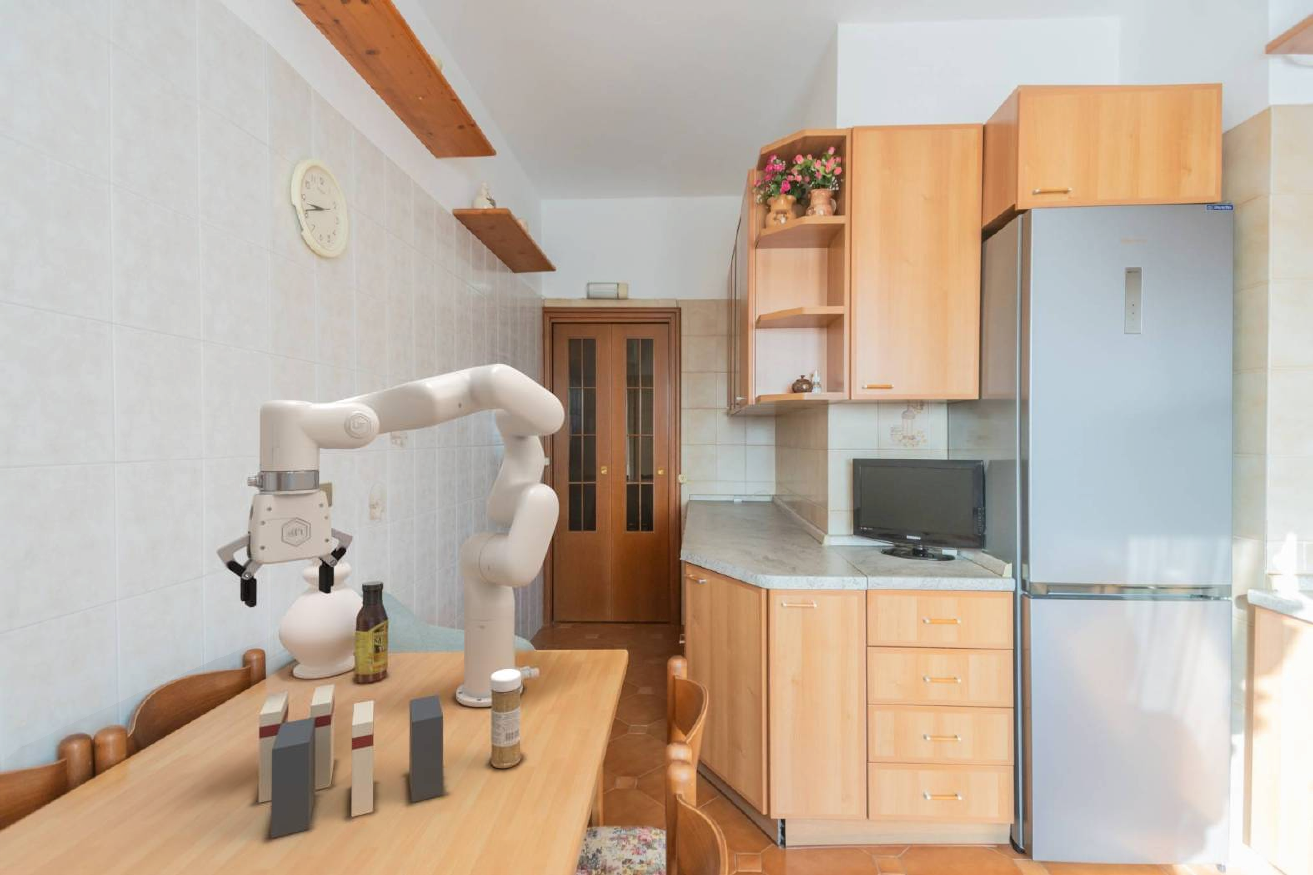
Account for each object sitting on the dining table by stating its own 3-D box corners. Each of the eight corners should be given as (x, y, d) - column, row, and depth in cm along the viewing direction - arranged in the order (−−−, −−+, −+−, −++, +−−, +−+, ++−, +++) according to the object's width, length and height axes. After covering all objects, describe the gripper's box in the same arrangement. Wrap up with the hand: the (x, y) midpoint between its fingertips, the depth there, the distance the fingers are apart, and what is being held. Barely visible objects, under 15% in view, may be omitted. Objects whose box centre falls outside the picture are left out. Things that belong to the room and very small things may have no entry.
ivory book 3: (373, 783, 82) (373, 699, 82) (372, 812, 75) (373, 720, 76) (353, 788, 81) (353, 703, 81) (351, 817, 74) (351, 724, 74)
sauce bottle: (378, 684, 116) (378, 586, 117) (348, 684, 116) (348, 586, 117) (393, 671, 123) (394, 579, 123) (365, 671, 123) (365, 579, 123)
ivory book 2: (334, 762, 87) (334, 683, 88) (330, 786, 81) (331, 701, 81) (315, 766, 86) (315, 686, 86) (309, 791, 80) (310, 705, 80)
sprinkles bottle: (517, 750, 90) (517, 665, 91) (523, 765, 86) (524, 676, 87) (487, 757, 88) (488, 670, 89) (493, 772, 84) (493, 681, 85)
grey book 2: (438, 767, 86) (438, 694, 86) (443, 795, 79) (443, 715, 79) (409, 774, 84) (409, 699, 84) (411, 803, 77) (412, 721, 77)
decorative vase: (290, 658, 131) (291, 549, 131) (375, 648, 137) (376, 544, 137) (267, 689, 114) (268, 564, 115) (366, 676, 120) (367, 557, 121)
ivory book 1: (288, 772, 85) (288, 691, 85) (280, 798, 78) (281, 710, 79) (267, 776, 84) (268, 694, 84) (258, 803, 77) (259, 714, 78)
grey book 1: (314, 796, 79) (315, 716, 79) (308, 829, 72) (309, 741, 72) (280, 804, 77) (281, 722, 77) (270, 839, 70) (271, 749, 70)
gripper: (225, 487, 76) (223, 616, 75) (361, 481, 89) (360, 591, 88) (211, 485, 81) (210, 606, 80) (342, 479, 94) (341, 583, 93)
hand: (289, 598), depth 84 cm, fingers open, 9 cm apart
